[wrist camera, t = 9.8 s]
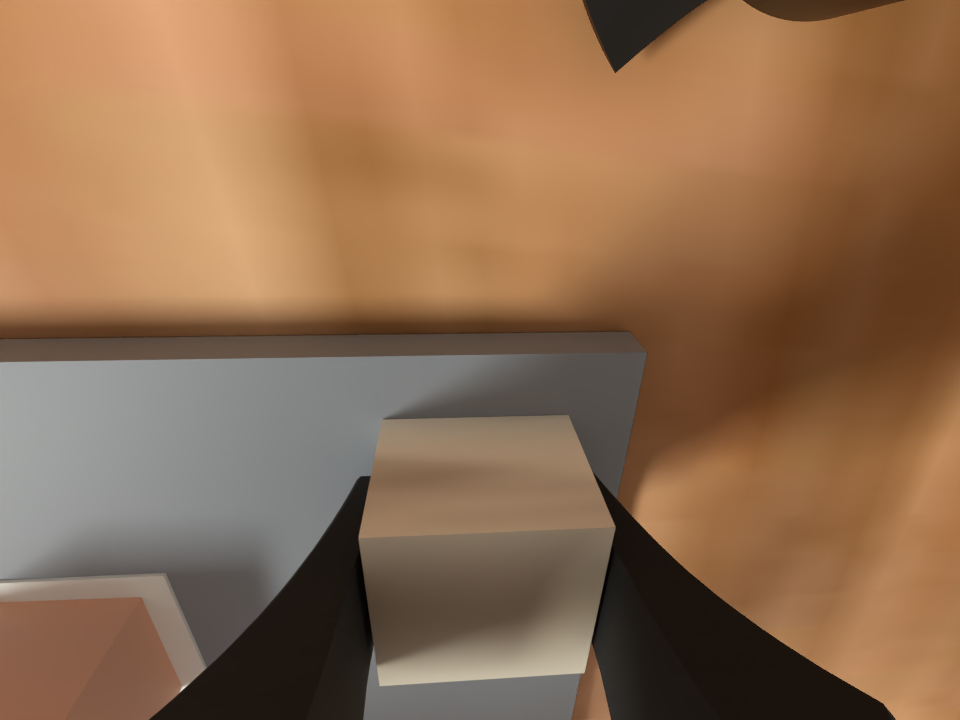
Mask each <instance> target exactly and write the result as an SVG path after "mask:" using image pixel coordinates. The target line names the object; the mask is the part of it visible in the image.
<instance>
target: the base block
mask: <svg viewBox="0 0 960 720" xmlns="http://www.w3.org/2000/svg"><path fill="white" fill-rule="evenodd" d="M181 688H182V685H181V683H180V681H179V679H178V676H177V674H176V672H175V670H174V668H173V665H172V663H171V661H170V659H169V657H168V654H167V652H166V650H165V648H164V646H163V644H162V641H161V639H160V637H159V635H158V633H157V630H156V628H155V626H154V624H153V622H152V619H151V617H150V615H149V613H148V611H147V608H146V606H145V604H144V602H143V600H142V597H131V598H104V599H76V600H49V601H21V602H0V720H149V719H150V718H151V717H152V716H153V715H155V714H156V713H157V712H158V711H160V710H161V709H162V708H163V707H164V706H165V705H166V704H168V703H169V702H170V701H171V700H172V699H173V698H174V697H176V696H177V695H178V694H179V692H180V690H181Z"/></svg>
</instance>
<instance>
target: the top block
mask: <svg viewBox="0 0 960 720" xmlns="http://www.w3.org/2000/svg"><path fill="white" fill-rule="evenodd" d="M615 528H616V527H615V525H614V522H613V520H612V518H611V515H610V513H609V510H608V508H607V506H606V503H605V501H604V498H603V496H602V494H601V491H600V489H599V487H598V484H597V482H596V479H595V477H594V475H593V472H592V470H591V467H590V465H589V463H588V460H587V458H586V456H585V453H584V451H583V448H582V446H581V444H580V441H579V439H578V436H577V434H576V432H575V429H574V427H573V425H572V422H571V420H570V417H569V415H544V416H504V417H463V418H423V419H383V420H382V423H381V428H380V433H379V438H378V443H377V448H376V453H375V458H374V463H373V468H372V473H371V478H370V483H369V488H368V492H367V497H366V502H365V507H364V512H363V517H362V522H361V527H360V532H359V537H358V540H359V546H360V553H361V560H362V567H363V574H364V581H365V588H366V595H367V602H368V609H369V616H370V623H371V629H372V636H373V643H374V650H375V657H376V664H377V671H378V678H379V685H380V686H391V685H406V684H422V683H437V682H453V681H468V680H484V679H499V678H515V677H530V676H546V675H561V674H577V673H585V669H586V664H587V659H588V655H589V650H590V645H591V641H592V636H593V631H594V626H595V622H596V617H597V612H598V608H599V603H600V598H601V594H602V589H603V584H604V579H605V575H606V570H607V565H608V561H609V556H610V551H611V547H612V542H613V537H614V532H615Z"/></svg>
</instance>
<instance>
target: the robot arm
mask: <svg viewBox="0 0 960 720" xmlns="http://www.w3.org/2000/svg"><path fill="white" fill-rule="evenodd" d="M592 472H593V471H592ZM593 475H594V477H595V479H596V482H597V484H598V487H599V489H600V491H601V494H602V496H603V498H604V501H605V503H606V506H607V508H608V510H609V513H610V515H611V518H612V520H613V522H614V525H615V527H616V528H615V532H614V537H613V542H612V547H611V551H610V556H609V561H608V565H607V570H606V575H605V579H604V584H603V589H602V594H601V598H600V603H599V608H598V612H597V617H596V622H595V626H594V631H593V636H592V641H591V642H592V645H593V648H594V651H595V654H596V658H597V661H598V665H599V669H600V672H601V676H602V681H603V685H604V689H605V694H606V698H607V703H608V707H609V711H610V716H611V720H896V719H895V718H894V717H893V715H892V714H891V713H890V712H889V710H888V709H887V708H886V707H885V706H884V704H883V703H881V702H879V701H878V700H876V699H874V698H872V697H871V696H869V695H867V694H866V693H864V692H862V691H860V690H859V689H857V688H855V687H853V686H852V685H850V684H848V683H847V682H845V681H843V680H841V679H840V678H838V677H836V676H835V675H833V674H831V673H829V672H828V671H826V670H824V669H822V668H821V667H819V666H818V665H816V664H814V663H813V662H811V661H810V660H808V659H807V658H805V657H803V656H802V655H800V654H799V653H797V652H796V651H794V650H793V649H791V648H790V647H788V646H786V645H785V644H783V643H782V642H780V641H779V640H777V639H776V638H774V637H773V636H772V635H770V634H769V633H767V632H766V631H764V630H763V629H761V628H760V627H759V626H757V625H756V624H754V623H753V622H752V621H750V620H749V619H748V618H746V617H745V616H744V615H742V614H741V613H739V612H738V611H737V610H735V609H734V608H733V607H731V606H730V605H729V604H727V603H726V602H725V601H723V600H722V599H721V598H720V597H718V596H717V595H716V594H715V593H713V592H712V591H711V590H710V589H709V588H707V587H706V586H705V585H704V584H703V583H701V582H700V581H699V580H698V579H697V578H695V577H694V576H693V575H692V574H691V573H689V572H688V571H687V570H686V569H685V568H684V567H683V566H682V565H680V564H679V563H678V562H677V561H676V560H675V559H674V558H673V557H672V556H671V555H670V554H669V553H668V552H667V551H666V550H665V549H664V548H662V547H661V546H660V545H659V544H658V543H657V542H656V541H655V540H654V539H653V538H652V537H651V536H650V535H649V534H648V532H647V531H646V530H645V529H644V528H643V527H642V526H641V525H640V524H639V523H638V522H637V521H636V520H635V519H634V518H633V517H632V516H631V515H630V513H629V512H628V511H627V510H626V509H625V508H624V507H623V506H622V505H621V503H620V502H619V501H618V500H617V499H616V498H615V497H614V496H613V494H612V493H611V492H610V491H609V490H608V489H607V487H606V486H605V485H604V484H603V483H602V482H601V480H600V479H599V478H598V477H597V476H596V475H595V474H594V472H593ZM370 478H371V476H360V477H359V478H358V479H357V480H356V482H355V484H354V486H353V488H352V489H351V491H350V493H349V495H348V496H347V498H346V500H345V502H344V503H343V505H342V506H341V508H340V510H339V511H338V513H337V514H336V516H335V518H334V519H333V521H332V522H331V524H330V525H329V527H328V528H327V530H326V531H325V532H324V534H323V535H322V537H321V538H320V540H319V541H318V543H317V544H316V546H315V547H314V548H313V550H312V551H311V552H310V554H309V555H308V556H307V558H306V559H305V560H304V562H303V563H302V564H301V566H300V567H299V568H298V570H297V571H296V572H295V573H294V575H293V576H292V577H291V579H290V580H289V581H288V582H287V583H286V585H285V586H284V587H283V588H282V590H281V591H280V592H279V593H278V594H277V595H276V597H275V598H274V599H273V600H272V601H271V602H270V603H269V605H268V606H267V607H266V608H265V609H264V610H263V611H262V612H261V614H260V615H259V616H258V617H257V618H256V619H255V620H254V621H253V622H252V623H251V624H250V625H249V626H248V627H247V628H246V629H245V631H244V632H243V633H242V634H241V635H240V636H239V637H238V638H237V639H236V640H235V641H234V642H233V643H232V644H231V645H230V646H229V647H228V648H227V649H226V650H225V651H224V652H223V653H222V654H221V655H220V656H219V657H218V658H217V659H216V660H215V661H214V662H213V663H211V664H210V665H209V666H208V667H207V668H206V669H205V670H204V671H203V672H202V673H201V674H200V675H198V676H197V677H196V678H195V679H194V680H193V681H192V682H191V683H190V684H189V685H188V686H186V687H185V688H184V689H183V690H182V691H181V692H180V693H179V694H178V695H177V696H176V697H174V698H173V699H172V700H171V701H170V702H169V703H168V704H166V705H165V706H164V707H163V708H162V709H161V710H160V711H158V712H157V713H156V714H155V715H153V716H152V717H151V718H150V719H149V720H363V718H364V708H365V699H366V689H367V682H368V675H369V669H370V663H371V658H372V653H373V647H374V643H373V636H372V629H371V623H370V616H369V609H368V602H367V595H366V588H365V581H364V574H363V567H362V560H361V553H360V546H359V540H358V537H359V532H360V527H361V522H362V517H363V512H364V507H365V502H366V497H367V492H368V488H369V483H370Z"/></svg>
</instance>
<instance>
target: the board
mask: <svg viewBox="0 0 960 720" xmlns="http://www.w3.org/2000/svg"><path fill="white" fill-rule="evenodd" d="M646 357H647V351H646V350H645V349H644V348H643V347H642V345H641V344H640V343H639V342H638V341H637V340H636V338H635V337H634V336H633V335H632V334H631V333H630V332H549V333H465V334H382V335H298V336H214V337H130V338H46V339H0V602H21V601H49V600H76V599H104V598H131V597H142V600H143V602H144V604H145V606H146V608H147V611H148V613H149V615H150V617H151V619H152V622H153V624H154V626H155V628H156V630H157V633H158V635H159V637H160V639H161V641H162V644H163V646H164V648H165V650H166V652H167V654H168V657H169V659H170V661H171V663H172V665H173V668H174V670H175V672H176V674H177V676H178V679H179V681H180V683H181V685H182V688H181V690H180V692H181V691H182V690H183V689H184V688H185V687H186V686H188V685H189V684H190V683H191V682H192V681H193V680H194V679H195V678H196V677H197V676H198V675H200V674H201V673H202V672H203V671H204V670H205V669H206V668H207V667H208V666H209V665H210V664H211V663H213V662H214V661H215V660H216V659H217V658H218V657H219V656H220V655H221V654H222V653H223V652H224V651H225V650H226V649H227V648H228V647H229V646H230V645H231V644H232V643H233V642H234V641H235V640H236V639H237V638H238V637H239V636H240V635H241V634H242V633H243V632H244V631H245V629H246V628H247V627H248V626H249V625H250V624H251V623H252V622H253V621H254V620H255V619H256V618H257V617H258V616H259V615H260V614H261V612H262V611H263V610H264V609H265V608H266V607H267V606H268V605H269V603H270V602H271V601H272V600H273V599H274V598H275V597H276V595H277V594H278V593H279V592H280V591H281V590H282V588H283V587H284V586H285V585H286V583H287V582H288V581H289V580H290V579H291V577H292V576H293V575H294V573H295V572H296V571H297V570H298V568H299V567H300V566H301V564H302V563H303V562H304V560H305V559H306V558H307V556H308V555H309V554H310V552H311V551H312V550H313V548H314V547H315V546H316V544H317V543H318V541H319V540H320V538H321V537H322V535H323V534H324V532H325V531H326V530H327V528H328V527H329V525H330V524H331V522H332V521H333V519H334V518H335V516H336V514H337V513H338V511H339V510H340V508H341V506H342V505H343V503H344V502H345V500H346V498H347V496H348V495H349V493H350V491H351V489H352V488H353V486H354V484H355V482H356V480H357V479H358V478H359V477H360V476H371V473H372V468H373V463H374V458H375V453H376V448H377V443H378V438H379V433H380V428H381V423H382V420H383V419H423V418H463V417H504V416H544V415H569V417H570V420H571V422H572V425H573V427H574V429H575V432H576V434H577V436H578V439H579V441H580V444H581V446H582V448H583V451H584V453H585V456H586V458H587V460H588V463H589V465H590V467H591V470H592V471H593V472H594V474H595V475H596V476H597V477H598V478H599V479H600V480H601V482H602V483H603V484H604V485H605V486H606V487H607V489H608V490H609V491H610V492H611V493H612V494H613V496H614V497H615V498H616V499H617V497H618V492H619V488H620V483H621V478H622V473H623V468H624V463H625V459H626V454H627V449H628V444H629V439H630V434H631V430H632V425H633V420H634V415H635V410H636V405H637V401H638V396H639V391H640V386H641V381H642V377H643V372H644V367H645V362H646ZM580 676H581V673H577V674H561V675H546V676H530V677H515V678H499V679H484V680H468V681H453V682H437V683H422V684H406V685H391V686H380V685H379V678H378V671H377V664H376V657H375V650H374V647H373V653H372V658H371V663H370V669H369V675H368V682H367V689H366V699H365V708H364V718H363V720H571V719H572V714H573V710H574V705H575V700H576V695H577V690H578V686H579V681H580ZM180 692H179V693H180Z"/></svg>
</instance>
